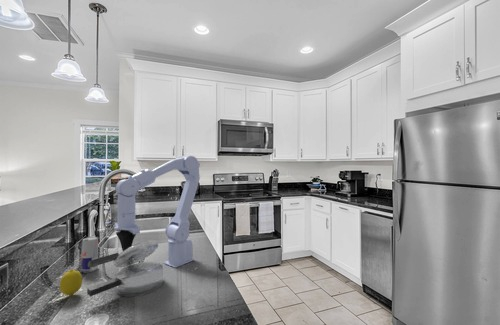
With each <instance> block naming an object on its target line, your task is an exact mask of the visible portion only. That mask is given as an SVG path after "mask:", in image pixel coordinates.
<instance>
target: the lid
mask: <svg viewBox="0 0 500 325" xmlns="http://www.w3.org/2000/svg"><path fill="white" fill-rule="evenodd" d="M158 247H159V244H158V241H156V240H155V239H150V240H144V241H141V242H138V243H136V244H134V245H133V244H132V246H131V247H129V248H128V249H126V250H124V251H123V250H122V252H120V253H119V252H116V253H112V254H108V255H105V256H102V257H98V258H97V259H94V260H90V261H89V263H88V268H90V267H94V266H97V265H98V266H100V265H103V264H106V263H110V262H113V264H114V267H116V268H124V267H126V266H129V265H132V264H136V263H140V262H141V261H143V260H144V259H146V258H147V257H149V256H151V255H152V254H154V252H156V251H157V249H158Z"/></svg>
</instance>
